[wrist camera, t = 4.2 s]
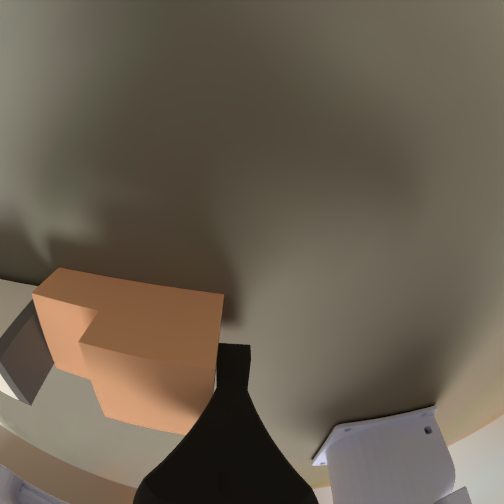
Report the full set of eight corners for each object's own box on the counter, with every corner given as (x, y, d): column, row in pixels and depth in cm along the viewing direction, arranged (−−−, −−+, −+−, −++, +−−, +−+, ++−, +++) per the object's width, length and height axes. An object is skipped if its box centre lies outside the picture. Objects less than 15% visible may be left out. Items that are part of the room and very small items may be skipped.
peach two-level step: (224, 293, 12) (215, 369, 8) (216, 366, 14) (208, 438, 10) (60, 266, 11) (7, 317, 7) (75, 338, 13) (41, 392, 9)
